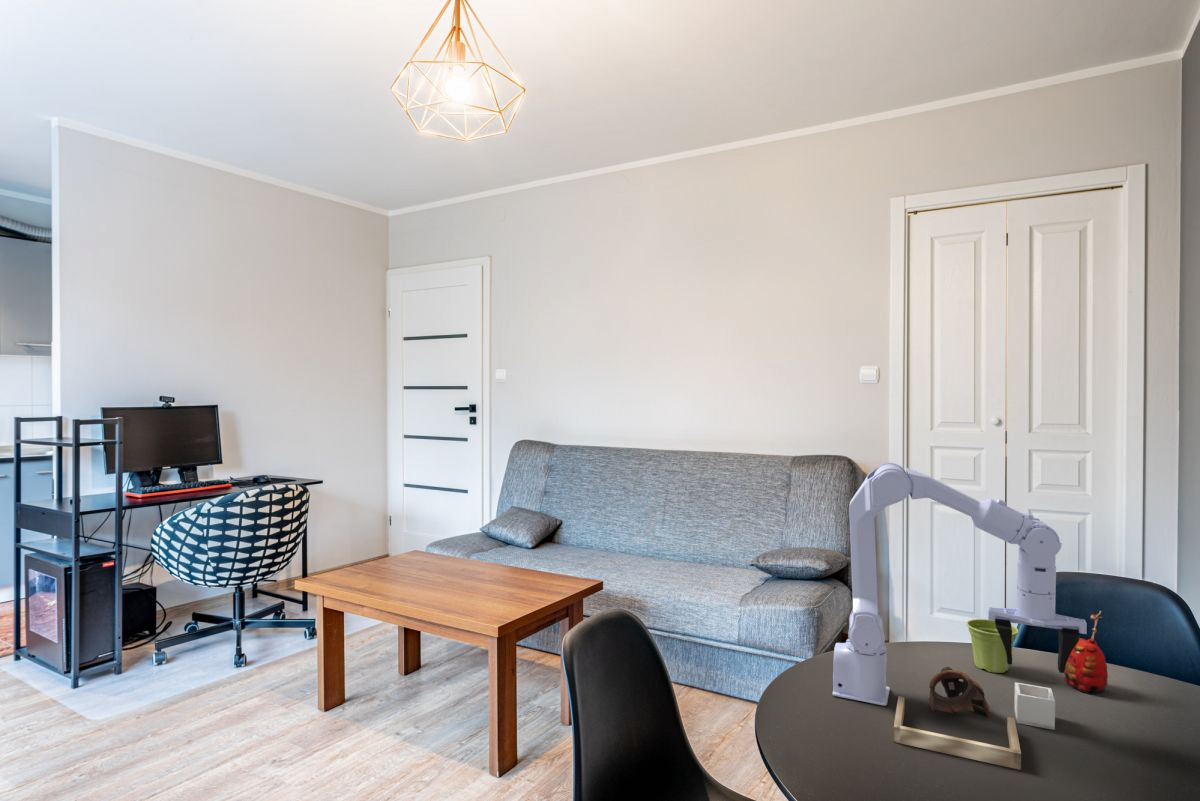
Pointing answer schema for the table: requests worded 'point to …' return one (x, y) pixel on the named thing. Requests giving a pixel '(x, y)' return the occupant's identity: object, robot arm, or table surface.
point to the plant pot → (988, 645)
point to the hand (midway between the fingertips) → (1034, 666)
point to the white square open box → (1034, 706)
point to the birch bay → (959, 742)
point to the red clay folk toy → (1087, 665)
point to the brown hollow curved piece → (956, 692)
